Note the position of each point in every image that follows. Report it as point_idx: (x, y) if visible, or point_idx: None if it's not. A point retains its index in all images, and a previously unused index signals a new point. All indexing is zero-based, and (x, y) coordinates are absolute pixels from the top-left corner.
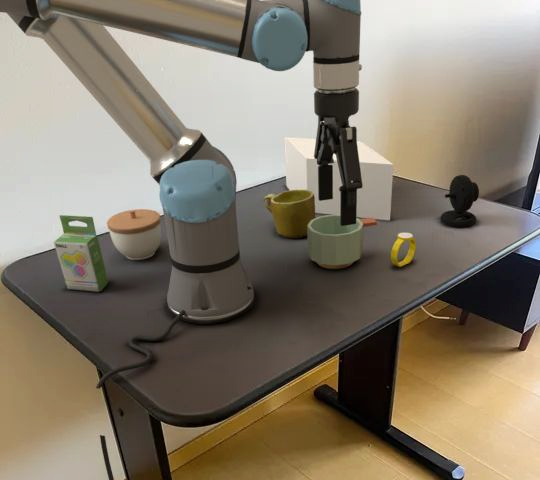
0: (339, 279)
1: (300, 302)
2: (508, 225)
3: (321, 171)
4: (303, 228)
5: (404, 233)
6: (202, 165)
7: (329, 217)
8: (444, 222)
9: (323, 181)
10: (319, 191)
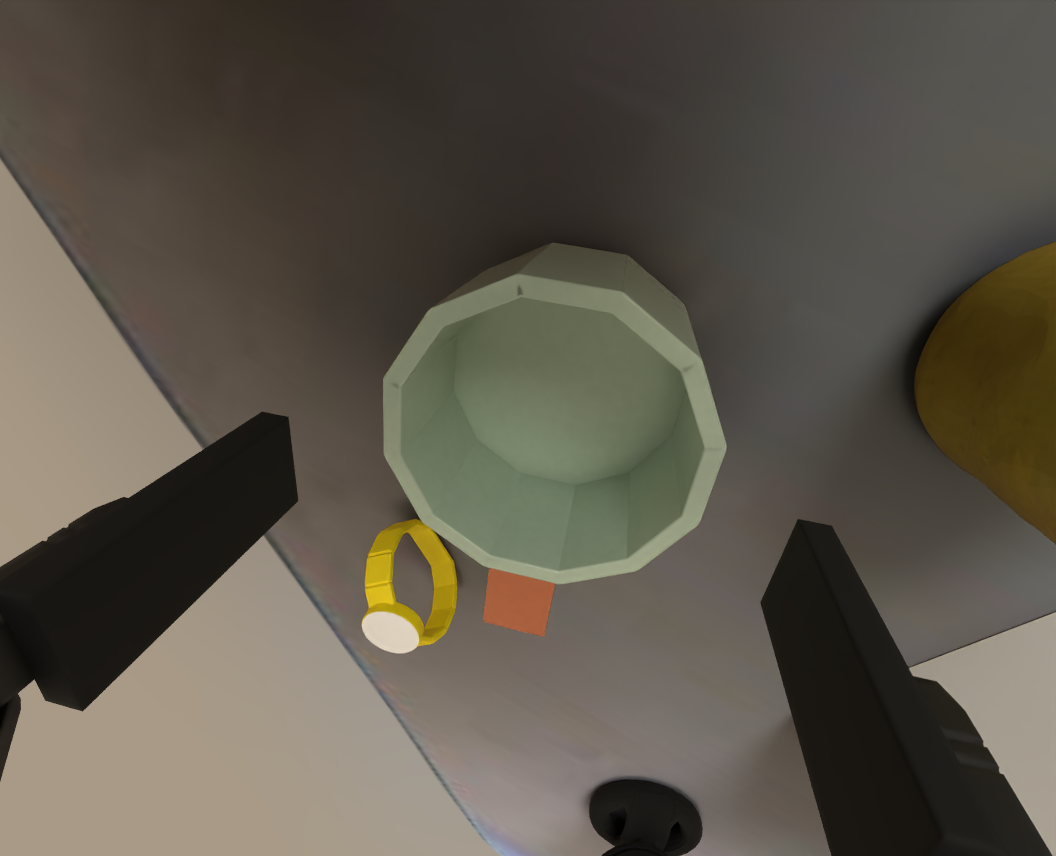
0: (399, 300)
1: (237, 22)
2: (548, 847)
3: (899, 788)
4: (940, 372)
5: (409, 640)
6: None
7: (690, 485)
8: (642, 786)
9: (836, 681)
10: (824, 575)
